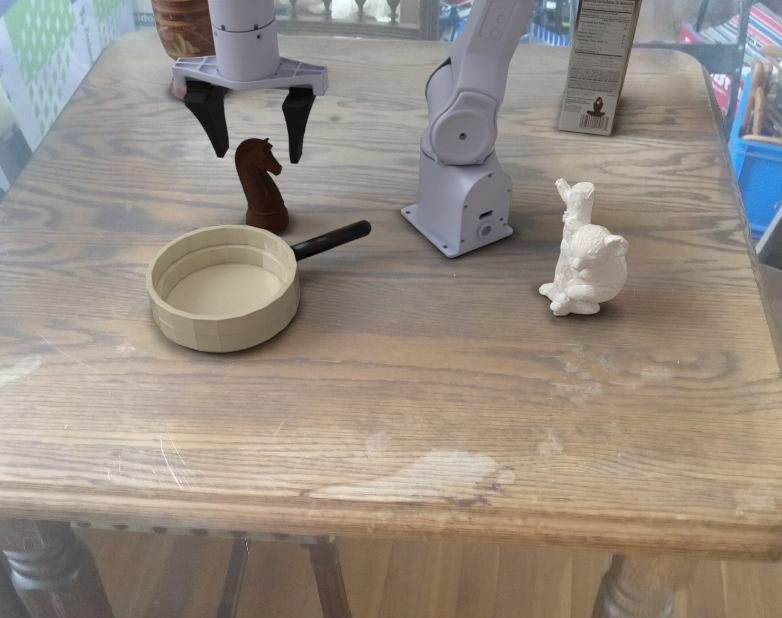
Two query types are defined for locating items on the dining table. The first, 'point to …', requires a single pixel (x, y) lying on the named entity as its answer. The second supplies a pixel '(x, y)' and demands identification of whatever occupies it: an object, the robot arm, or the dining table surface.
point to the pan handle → (331, 239)
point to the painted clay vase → (184, 31)
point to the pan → (223, 287)
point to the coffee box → (598, 64)
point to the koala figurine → (585, 257)
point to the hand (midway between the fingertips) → (259, 155)
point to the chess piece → (261, 185)
